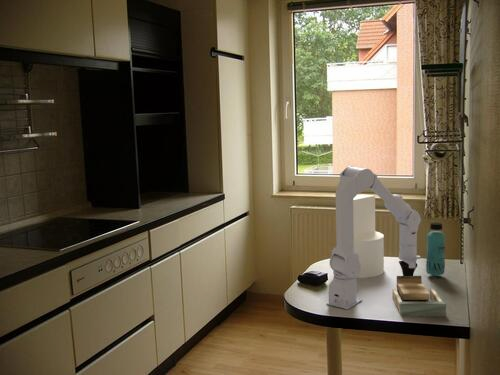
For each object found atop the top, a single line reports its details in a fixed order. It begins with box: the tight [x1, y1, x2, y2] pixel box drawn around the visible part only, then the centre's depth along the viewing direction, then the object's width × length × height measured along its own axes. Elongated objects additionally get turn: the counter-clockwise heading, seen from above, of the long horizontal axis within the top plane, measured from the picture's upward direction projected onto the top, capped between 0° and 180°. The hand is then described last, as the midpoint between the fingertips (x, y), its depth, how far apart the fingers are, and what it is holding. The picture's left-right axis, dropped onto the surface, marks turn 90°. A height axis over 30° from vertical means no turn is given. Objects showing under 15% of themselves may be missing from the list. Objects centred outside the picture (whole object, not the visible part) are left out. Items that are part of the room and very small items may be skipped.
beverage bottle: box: [425, 221, 446, 276], centre depth 193 cm, size 6×7×20 cm
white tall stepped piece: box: [353, 194, 385, 279], centre depth 203 cm, size 17×17×28 cm
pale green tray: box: [392, 288, 447, 317], centre depth 167 cm, size 16×13×4 cm
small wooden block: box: [396, 275, 430, 302], centre depth 176 cm, size 12×8×5 cm, turn 175°
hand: (407, 282), depth 183 cm, fingers closed
